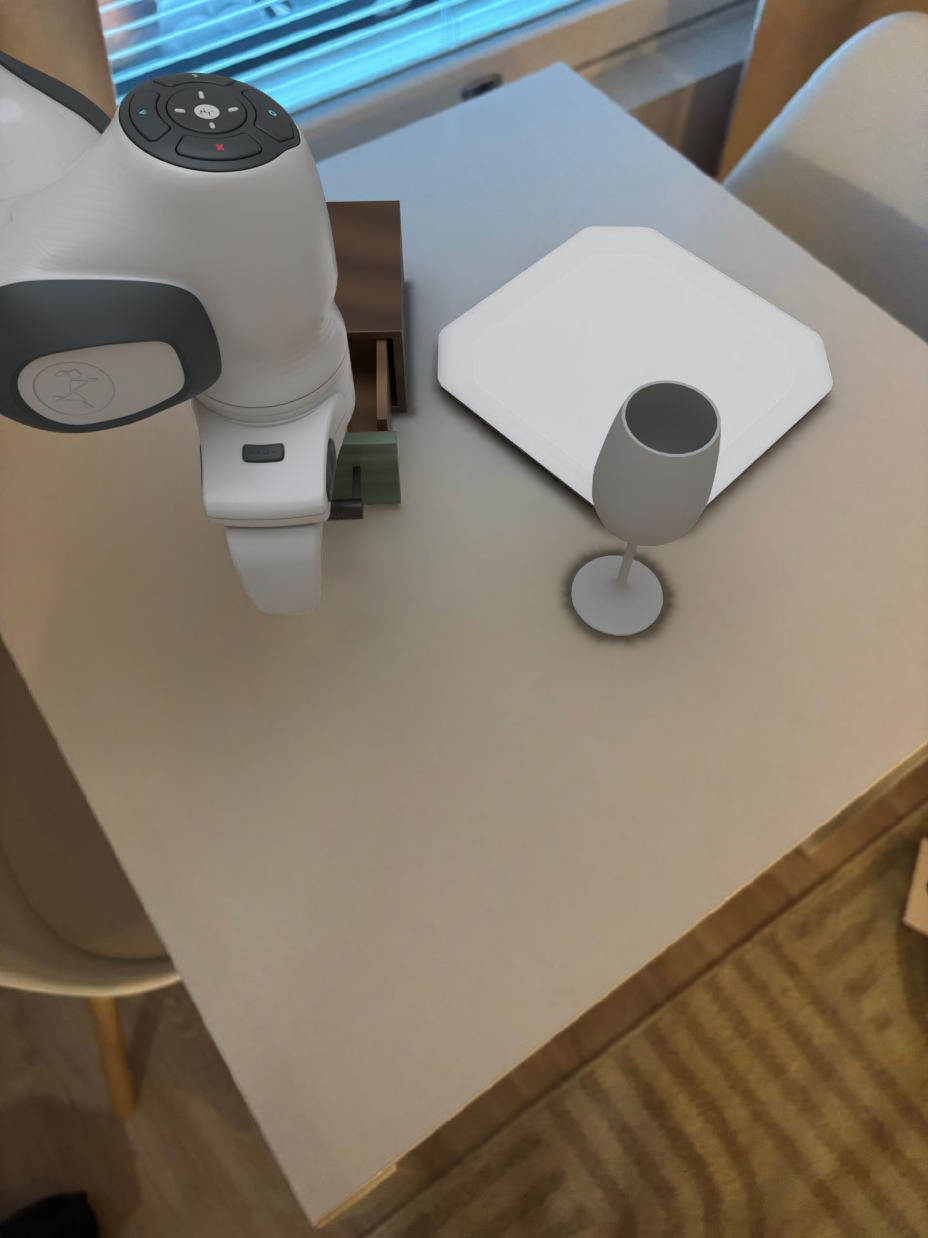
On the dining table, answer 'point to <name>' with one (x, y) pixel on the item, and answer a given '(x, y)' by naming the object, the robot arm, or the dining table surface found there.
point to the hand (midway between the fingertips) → (308, 524)
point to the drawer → (367, 437)
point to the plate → (628, 352)
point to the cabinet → (372, 280)
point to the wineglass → (647, 498)
